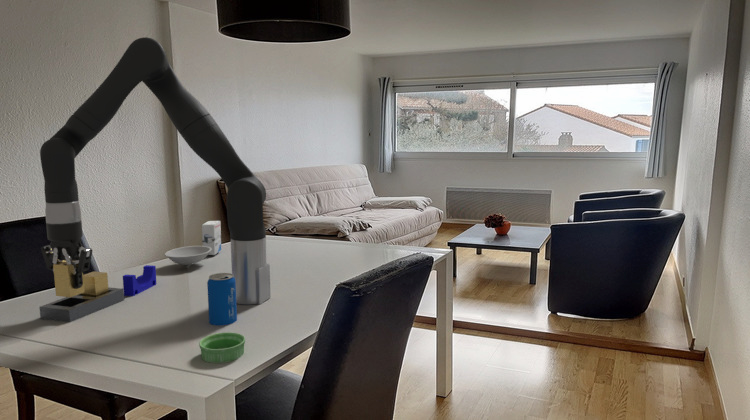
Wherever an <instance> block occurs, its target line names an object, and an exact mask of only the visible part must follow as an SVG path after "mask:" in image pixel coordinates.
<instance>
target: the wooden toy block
mask: <svg viewBox="0 0 750 420" xmlns="http://www.w3.org/2000/svg"><path fill="white" fill-rule="evenodd" d="M72 261H73V262H74V261H75V260H72ZM52 264H53V263H52ZM75 266H76V269H77V268H78V265H77V264H75ZM53 268H54V272H53V275H54V276H53V277H54V279H53V280H54V286H55V287H54V288H55V296H56V297H63V298H65V297H73V296H75V295H78V294H81V293H84V280H83V285H82V287H81V288H78V289H74V288H73V279H72V275H73V274H72V271H71V266H70V265H67V262H62V263H59V264H53ZM83 275H84V272H83V273H82V277H83Z"/></svg>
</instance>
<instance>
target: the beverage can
mask: <svg viewBox="0 0 750 420" xmlns="http://www.w3.org/2000/svg"><path fill="white" fill-rule="evenodd" d="M206 284H207V285H206V286H207V303H208V320H209V321H208V323H209V324H210V325H212V326H218V327H219V326H227V325H231V324H234V323H236V322H237V321H238V312H237V311H238V310H237V309H238V307H237V303H236V281H235V278H234V277H233V274H232V273H230V272H218V273H214V274H213V273H212V274H211V275H209V276H208V280H207V282H206Z"/></svg>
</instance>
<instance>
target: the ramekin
mask: <svg viewBox="0 0 750 420" xmlns="http://www.w3.org/2000/svg"><path fill="white" fill-rule="evenodd" d="M245 343H246V336H245V335H243V334H241V333H238V332H231V331H227V332H218V333H213V334H209V335H207V336H205V337H203V338H201V340H199V343H198V344H199V345H198V346H199V349H200V353H201V354H200V355H201V359H202V360H203V361H205V362H207V363H212V364H213V363H214V364H215V363H216V364H218V363H219V364H221V363H229V362H232V361H234V360H237V359H239V358H241V357H242V356H244V355H245V354H244V353H245Z"/></svg>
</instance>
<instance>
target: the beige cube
mask: <svg viewBox="0 0 750 420" xmlns="http://www.w3.org/2000/svg"><path fill="white" fill-rule="evenodd" d="M83 280H84V293H82V296H88V297H98V296H101V295H103V294H106V293H109V289H108V287H109V279H108V272H103V271H91V272H88V273H84V274H83Z"/></svg>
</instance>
